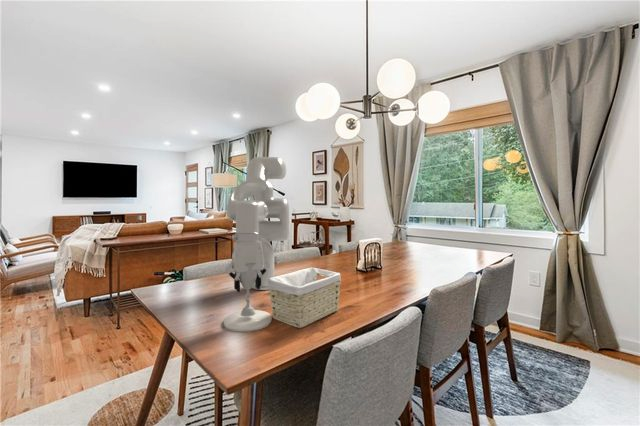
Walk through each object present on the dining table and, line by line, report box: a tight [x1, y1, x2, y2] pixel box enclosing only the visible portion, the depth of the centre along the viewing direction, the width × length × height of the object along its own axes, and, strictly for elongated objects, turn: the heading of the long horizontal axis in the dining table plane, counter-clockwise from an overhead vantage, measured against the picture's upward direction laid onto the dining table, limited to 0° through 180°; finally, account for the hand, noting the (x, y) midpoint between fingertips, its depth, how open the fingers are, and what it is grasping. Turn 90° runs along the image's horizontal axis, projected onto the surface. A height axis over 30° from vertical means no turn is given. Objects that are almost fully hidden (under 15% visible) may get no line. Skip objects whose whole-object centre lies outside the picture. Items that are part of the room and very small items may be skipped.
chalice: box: [239, 263, 257, 316], centre depth 106 cm, size 7×7×18 cm
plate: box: [223, 309, 272, 333], centre depth 107 cm, size 16×16×1 cm
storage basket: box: [268, 267, 342, 329], centre depth 113 cm, size 24×16×15 cm
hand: (247, 289), depth 106 cm, fingers closed on chalice, 6 cm apart
